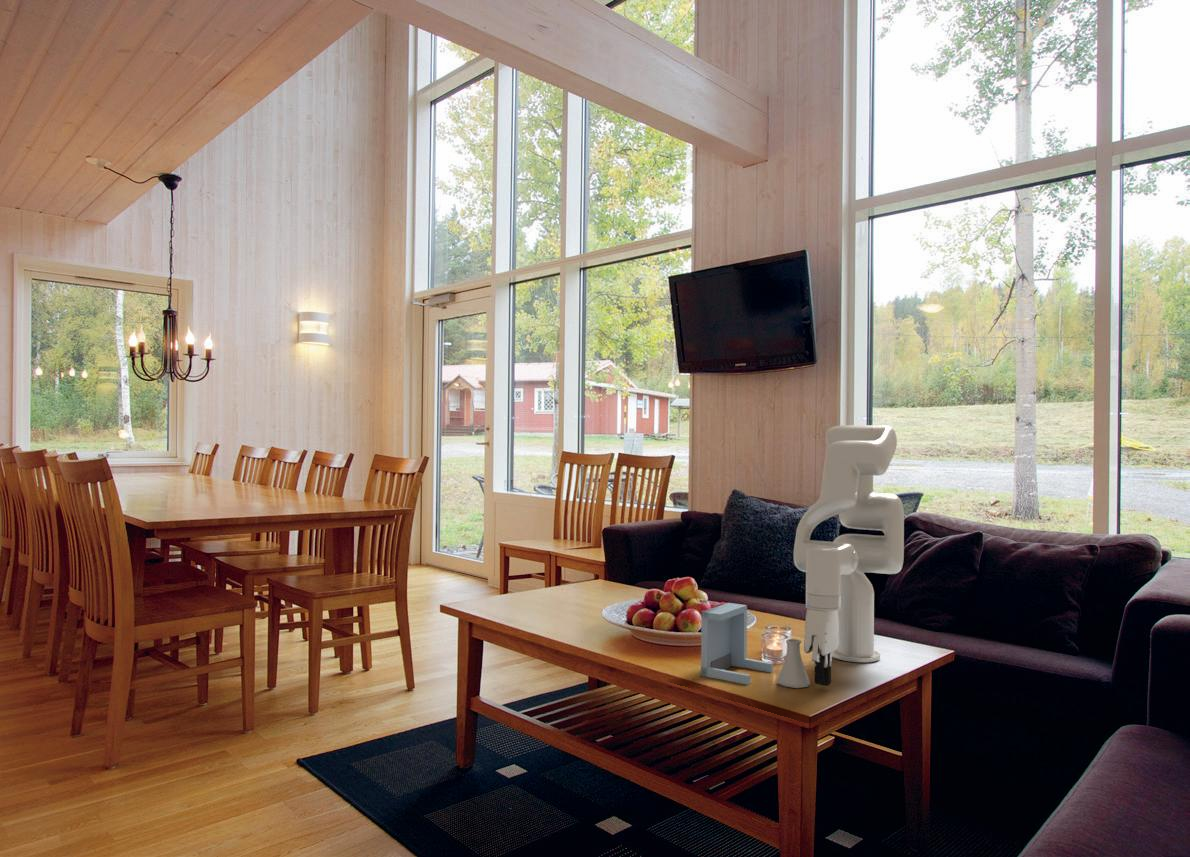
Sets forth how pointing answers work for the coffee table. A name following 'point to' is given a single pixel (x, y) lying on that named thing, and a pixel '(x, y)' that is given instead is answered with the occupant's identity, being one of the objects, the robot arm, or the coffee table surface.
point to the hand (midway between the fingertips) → (822, 683)
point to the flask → (793, 667)
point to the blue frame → (727, 644)
